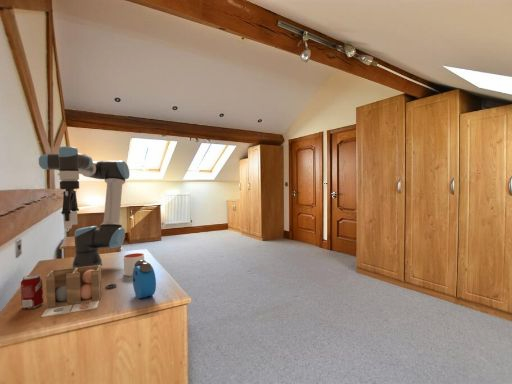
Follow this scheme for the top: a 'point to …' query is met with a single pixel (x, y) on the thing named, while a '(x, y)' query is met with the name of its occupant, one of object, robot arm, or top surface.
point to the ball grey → (61, 294)
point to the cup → (131, 262)
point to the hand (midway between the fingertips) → (71, 226)
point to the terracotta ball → (86, 291)
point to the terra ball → (87, 277)
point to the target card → (70, 308)
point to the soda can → (31, 291)
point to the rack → (72, 285)
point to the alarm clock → (143, 279)
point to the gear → (110, 286)
